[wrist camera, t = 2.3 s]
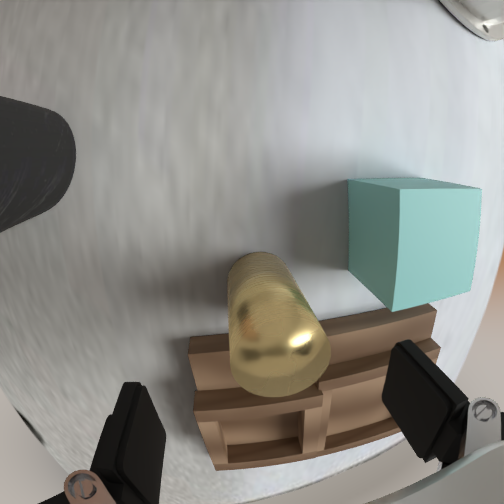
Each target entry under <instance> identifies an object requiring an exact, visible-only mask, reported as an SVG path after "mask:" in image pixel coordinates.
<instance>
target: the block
mask: <svg viewBox="0 0 504 504" xmlns="http://www.w3.org/2000/svg"><path fill="white" fill-rule="evenodd" d="M481 197H482V189H480V188H475V187H470V186H465V185H460V184H455V183H449V182H443V181H438V180H431V179H425V178H371V179H348V206H349V265H348V271H349V272H350V273H352V274H353V275H354V276H355V277H356V278H357V279H358V280H359V281H360V282H361V283H362V284H363V285H364V286H365V287H366V288H367V289H369V290H370V291H371V292H372V293H373V294H374V295H375V296H376V297H377V298H378V299H379V300H380V301H381V302H382V303H383V304H384V305H385V306H386V307H387V308H388V309H389V310H390V311H391V312H394V311H399V310H403V309H407V308H411V307H415V306H419V305H423V304H426V303H430V302H434V301H438V300H441V299H445V298H448V297H452V296H455V295H458V294H462V293H465V292H468V291H470V289H471V284H472V279H473V273H474V267H475V261H476V254H477V247H478V238H479V228H480V216H481Z"/></svg>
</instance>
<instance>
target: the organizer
mask: <svg viewBox="0 0 504 504" xmlns="http://www.w3.org/2000/svg"><path fill="white" fill-rule="evenodd" d="M436 313H437V310H436V309H435V308H433V307H432V306H431V305H430V304H428V303H426V304H423V305H419V306H415V307H411V308H407V309H403V310H399V311H394V312H391V311H390V310H389V309H388V308H384V309H379V310H375V311H370V312H365V313H360V314H355V315H350V316H344V317H339V318H334V319H328V320H322V321H318V322H319V323H320V325H321V327H322V329H323V330H324V332H325V334H326V336H327V338H328V339H329V342H330V346H331V358H330V361H329V364H328V366H327V369H326V370H325V372H324V373H323V374H322V376H321V377H320V378H319V379H318V380H317V381H316V382H315V383H313V384H312V385H311V386H309V387H308V388H306V389H304V390H302V391H300V392H298V393H295V394H292V395H288V396H284V397H264V396H259V395H255V394H253V393H250V392H248V391H247V390H245V389H244V388H242V387H241V386H240V385H239V384H238V383H237V382H236V380H235V379H234V377H233V375H232V372H231V367H230V347H229V333H228V334H219V335H208V336H197V337H190V343H189V349H188V357H189V361H190V365H191V369H192V372H193V376H194V379H195V383H196V386H197V390H198V391H195V396H194V408H193V412H194V415H195V418H196V421H197V424H198V426H199V429H200V432H201V434H202V437H203V440H204V442H205V445H206V447H207V450H208V453H209V455H210V458H211V460H212V462H213V465H214V467H215V470H216V471H219V470H235V469H246V468H256V467H264V466H272V465H278V464H285V463H291V462H296V461H302V460H307V459H311V458H316V457H319V456H323V455H327V454H331V453H335V452H339V451H343V450H347V449H350V448H354V447H357V446H361V445H364V444H367V443H370V442H373V441H376V440H379V439H382V438H385V437H388V436H390V435H393V434H396V433H399V432H401V430H400V428H399V427H398V425H397V424H396V422H395V420H394V419H393V417H392V416H391V414H390V413H389V411H388V410H387V408H386V407H385V405H384V404H383V402H382V391H383V387H384V383H385V378H386V374H387V369H388V365H389V360H390V354H391V350H392V348H393V347H394V346H395V344H396V343H397V342H400V341H404V340H407V339H410V340H412V341H413V342H414V343H415V344H416V345H417V346H418V347H419V348H420V349H421V350H422V351H423V352H424V353H425V354H426V355H427V356H428V357H429V358H430V359H431V360H432V361H433V362H434V363H435V364H436V362H437V358H438V355H439V352H440V348H441V347H440V346H439V345H438V344H437V343H436V342H435V341H434V340H433V339H432V338H431V335H432V330H433V326H434V322H435V317H436Z"/></svg>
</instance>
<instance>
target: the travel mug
mask: <svg viewBox="0 0 504 504" xmlns="http://www.w3.org/2000/svg"><path fill="white" fill-rule="evenodd" d="M75 161H76V148H75V141H74V137H73V134H72V131H71V129H70V127H69V125H68V123H67V122H66V121H65V120H64V119H63V118H62V117H61V116H60V115H59V114H57V113H56V112H54V111H51V110H49V109H46V108H42V107H39V106H36V105H32V104H29V103H25V102H21V101H17V100H14V99H10V98H6V97H2V96H0V232H2V231H4V230H6V229H8V228H11V227H13V226H15V225H17V224H19V223H21V222H23V221H26V220H28V219H30V218H32V217H35V216H37V215H39V214H41V213H43V212H45V211H47V210H49V209H51V208H52V207H53V206H55V205H56V204H57V203H58V202H59V201H60V199H61V198H62V197H63V196H64V194H65V192H66V191H67V189H68V187H69V185H70V182H71V180H72V177H73V173H74V168H75Z"/></svg>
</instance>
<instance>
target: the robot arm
mask: <svg viewBox="0 0 504 504" xmlns="http://www.w3.org/2000/svg"><path fill="white" fill-rule="evenodd" d="M440 1H441V3H442V4H443V5H444V6H445V7H446V8H447V9H448V10H449V11H450V12H451V13H452V14H453V15H454V16H455V17H456V18H457V19H458V20H459V21H460V22H461V23H462V24H463V25H465V26H466V27H467V28H468V29H470V30H471V31H472V32H474V33H475V34H476V35H478V36H480V37H482V38H483V39H486V40H489V41H498V40H501V39H504V0H440ZM382 402H383V404H384V405H385V407H386V408H387V410H388V411H389V413H390V414H391V416H392V417H393V419H394V420H395V422H396V424H397V425H398V427H399V428H400V430H401V431H402V433H403V434H404V436H405V437H406V439H407V441H408V442H409V444H410V445H411V447H412V448H413V450H414V451H415V453H416V455H417V456H418V457H419V458H423V460H424V461H425V463H426V462H428V461H430V460H432V459H434V458H436V457H437V458H438V460H439V464H438V469H437V472H436V473H434V474H432V475H430V476H428V477H426V478H424V479H422V480H420V481H418V482H416V483H414V484H412V485H410V486H407V487H405V488H403V489H401V490H398V491H396V492H394V493H391V494H389V495H386V496H384V497H381V498H379V499H376V500H373V501H371V502H368V503H365V504H504V412H500V408H499V406H498V404H497V403H496V402H495V401H494V400H492V399H490V398H485V397H482V398H481V397H480V398H477V399H475V400H473V401H472V402H471V403H469V401H468V398H467V397H466V395H465V394H464V393H463V392H462V391H461V390H460V389H459V388H458V387H457V386H456V385H455V384H454V383H453V382H452V381H451V380H450V379H449V378H448V377H447V376H446V375H445V373H444V372H443V371H442V370H441V369H440V368H439V367H438V366H437V365H436V364H435V363H434V362H433V361H432V360H431V359H430V358H429V357H428V356H427V355H426V354H425V353H424V352H423V351H422V350H421V349H420V348H419V347H418V346H417V345H416V344H415V343H414V342H413V341H412V340H410V339H407V340H404V341H400V342H397V343H396V344H395V346H394V347H393V348H392V350H391V354H390V360H389V365H388V369H387V374H386V378H385V383H384V387H383V391H382ZM165 443H166V432H165V429H164V427H163V425H162V423H161V421H160V419H159V416H158V414H157V412H156V410H155V407H154V405H153V403H152V400H151V398H150V395H149V393H148V391H147V388H146V386H142V385H141V383H140V382H124V384H123V386H122V389H121V391H120V394H119V397H118V400H117V402H116V405H115V408H114V411H113V414H112V415H109V416H108V417H107V419H106V422H105V425H104V428H103V431H102V433H101V436H100V439H99V442H98V445H97V449H96V452H95V455H94V458H93V461H92V464H91V468H90V471H88V470H78V471H74V472H73V473H71V474H70V475H69V476H68V477H67V478H66V480H65V482H64V492H62V493H60V494H58V495H56V496H54V497H52V498H50V499H48V500H45V501H43V502H41V503H39V504H159V496H160V486H161V476H162V467H163V459H164V451H165Z"/></svg>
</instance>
